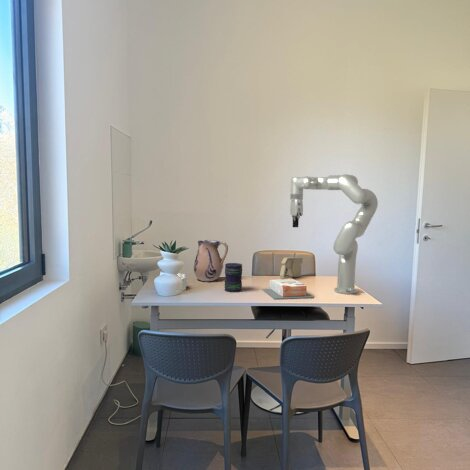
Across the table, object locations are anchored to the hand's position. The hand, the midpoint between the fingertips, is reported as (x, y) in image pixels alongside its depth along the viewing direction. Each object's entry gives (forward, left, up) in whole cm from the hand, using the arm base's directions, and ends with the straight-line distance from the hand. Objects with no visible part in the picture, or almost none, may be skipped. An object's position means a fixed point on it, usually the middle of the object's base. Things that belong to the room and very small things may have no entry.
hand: (295, 227), depth 255 cm
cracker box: (-15, +14, -31) cm, 37 cm away
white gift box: (-8, +73, -35) cm, 82 cm away
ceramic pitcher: (+14, +50, -35) cm, 63 cm away
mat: (-27, +14, -35) cm, 46 cm away
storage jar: (-15, +42, -35) cm, 57 cm away
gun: (+14, -4, -35) cm, 38 cm away
